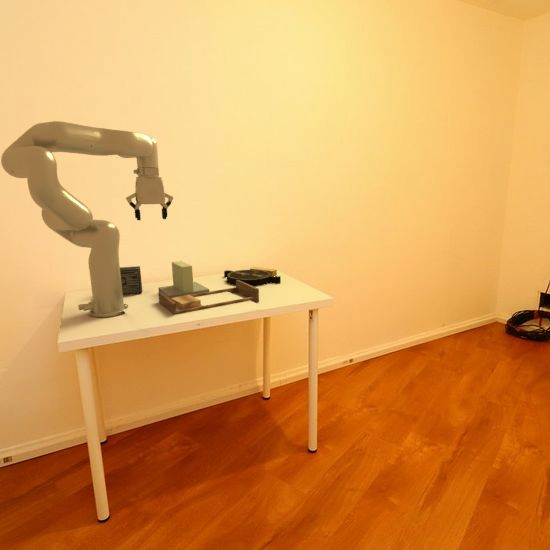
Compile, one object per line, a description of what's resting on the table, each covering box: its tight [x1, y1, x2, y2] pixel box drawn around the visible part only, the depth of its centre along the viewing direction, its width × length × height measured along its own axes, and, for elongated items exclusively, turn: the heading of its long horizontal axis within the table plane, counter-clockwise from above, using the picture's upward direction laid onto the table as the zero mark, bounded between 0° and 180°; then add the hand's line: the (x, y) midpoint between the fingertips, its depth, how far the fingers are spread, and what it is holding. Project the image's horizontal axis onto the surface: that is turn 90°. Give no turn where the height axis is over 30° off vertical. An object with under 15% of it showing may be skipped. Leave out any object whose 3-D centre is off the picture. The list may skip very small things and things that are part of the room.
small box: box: [120, 265, 143, 296], centre depth 155 cm, size 11×6×10 cm, turn 104°
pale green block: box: [171, 260, 194, 293], centre depth 152 cm, size 4×12×10 cm, turn 33°
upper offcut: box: [171, 295, 202, 310], centre depth 136 cm, size 7×9×2 cm
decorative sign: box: [223, 266, 282, 287], centre depth 177 cm, size 29×3×25 cm
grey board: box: [157, 281, 210, 298], centre depth 153 cm, size 16×14×2 cm
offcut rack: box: [157, 280, 260, 316], centre depth 141 cm, size 32×16×5 cm, turn 123°
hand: (151, 219), depth 147 cm, fingers open, 9 cm apart
